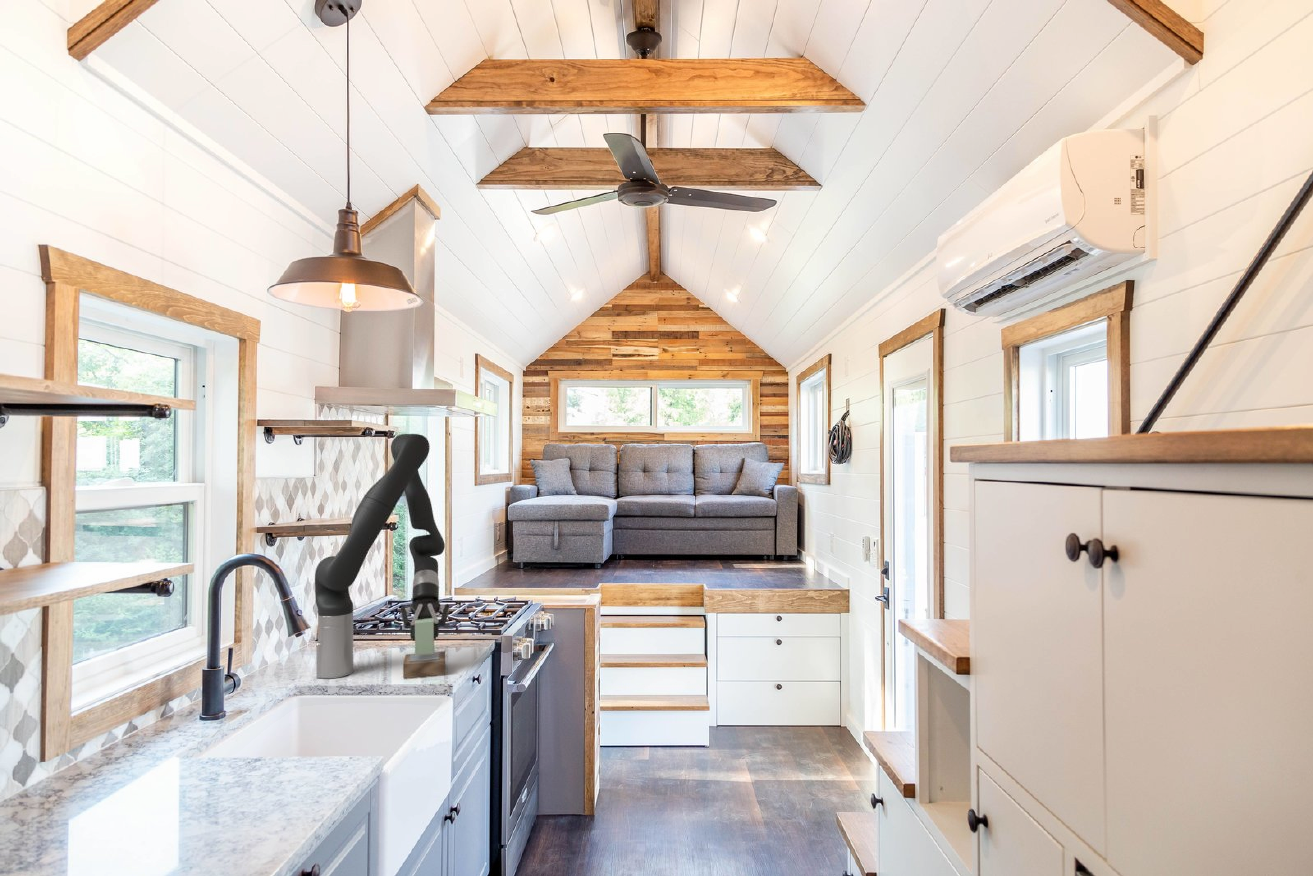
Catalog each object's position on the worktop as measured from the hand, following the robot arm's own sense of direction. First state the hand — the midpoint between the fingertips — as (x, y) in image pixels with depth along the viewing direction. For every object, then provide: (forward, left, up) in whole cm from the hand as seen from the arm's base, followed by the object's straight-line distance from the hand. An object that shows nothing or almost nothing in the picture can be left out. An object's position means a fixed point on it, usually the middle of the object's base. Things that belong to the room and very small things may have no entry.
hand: (424, 638), depth 203 cm
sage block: (0, +2, -4) cm, 5 cm away
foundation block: (0, +2, -10) cm, 10 cm away
